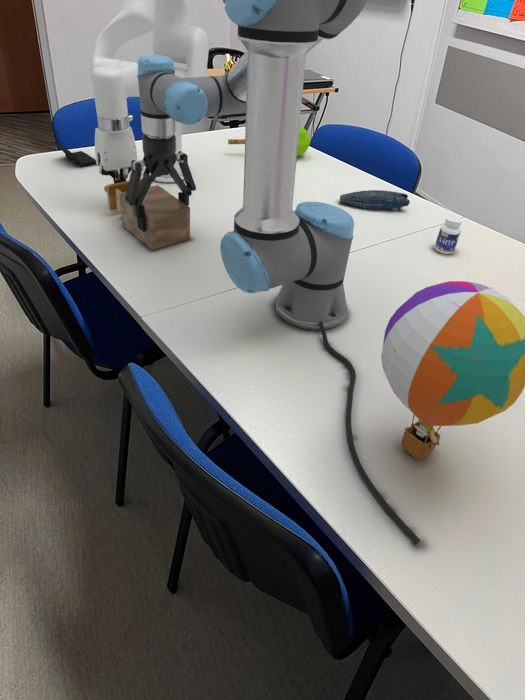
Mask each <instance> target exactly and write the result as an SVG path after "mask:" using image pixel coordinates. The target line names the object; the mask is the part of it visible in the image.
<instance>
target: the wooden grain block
mask: <svg viewBox="0 0 525 700" xmlns="http://www.w3.org/2000/svg"><path fill="white" fill-rule="evenodd" d="M125 196H126V192H123V193H119V197H120V209H121V213H120V220H121V226H122V227H123V228H125V229H126V230H127V231H128V232H129V233H131V234H132V236H134V237H135V238H136V239H138V240H139V242H141V243H142V244H144V245H145V247H147V248H149V249H150V250H151V251H154V250H158V249H162V248H166V247H169V246H172V245H175V244H178V243H182V242H185V241H188V240H190V239H191V236H190V235H191V207H190V205H189V206H187V205H186V204H184V203H183V202H181V201H180V200H178V198H177V197H175V196H174V195H173V194H171V193H170V192H169V191H167V190H166V189H164V188H162V187H161V186H160V185H159V184H156V185H151V186H150V188H149V190H148V192H147V194H146V196H145V198H144V200H143V202H142V205H144V206H145V221H146V231H145V232H143V231H142V230H140V229H139V228H138V224H137V218H136V217H135V216H134V211H133V206H131V205H129V204H128V203H127V202H125Z"/></svg>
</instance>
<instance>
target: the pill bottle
mask: <svg viewBox="0 0 525 700" xmlns="http://www.w3.org/2000/svg"><path fill="white" fill-rule="evenodd" d="M462 222H463V219H461V218H460V217H458V216H455V215H448V216H446V218H445V220H444V223H443V224H442V225H440V228H439V231H438V234H437V237H436V240H435V243H434V250H435V251H437V252H439V253H441V254H447V255H449V254H453V253H454V252H455V250H456V247H457V244H458V242H459V239H460V236H461V233H462V229H461V225H462Z"/></svg>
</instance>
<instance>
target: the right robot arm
mask: <svg viewBox="0 0 525 700" xmlns="http://www.w3.org/2000/svg"><path fill="white" fill-rule="evenodd" d="M367 2H368V0H222V3H223V4H225V5H224V11H225V13H226V15H227V17H228V19H230V21H231V22H232V23H234V24H235V25H236V26H237V39H238V41H240V43H241V44H242V45H243V47H244V48H245V50H246V51H245V53H244V54H242V55H241V57H239V58H238V60H237V61H236V62H235V63H234V64H233V65H232V67H231V68H230V69H228V70H227V72H226V73H224V74H222V75H209V76H206V77H191V78H180V77H178V76H176V75H174V73H175V70H174V67H175V62H173V60H172V59H171V58H169V57H167V56H162V55H155V54H144V55H141V56H140V57H139V58H138V59H137V63H138V75H137V78H138V84H139V96H138V97H139V109H140V124H141V125H140V126H141V132H142V135H141V142H142V152H143V159H141V160H137V161H135V160H132V161H131V168H132V170H131V171H130V175H129V179H128V181H129V183H128V187H127V192H126V196H125V202H127V203H128V204H129V205H131V206H133V211H134V216H135V217H136V218H137V224H138V228H139V229H140V230H142V231H143V232H145V231H146V221H145V206H144V205H142V202H143V200H144V198H145V196H146V194H147V192H148V190H149V188H150V187H151V186H152V184H153V183H154V182H156V181H155V179H156V177H160V176H162V175H170V176H171V177H172V179H173V180H174V181H175V182H174V183H175V185H176V186H177V187H178V189H179V192H178V193H177V197H178V198H177V199H178V200H180V201H181V202H183V203H184V204H186V205H187V206H189V207H190V197H191V196H192V195H193V192H194V191H196V190H197V186H196V183H195V180H194V178H193V177H194V176H193V175H192V172H191V169H190V166H189V161H188V160H189V158H188V157H189V156H188V154H186V153H185V152H183V151H182V152H181V151H179V152H178V154H175V152H176V136H175V135H174V134H175V133H176V124H175V121H178V122H180V123H181V124H183V125H185V126H193V125H197V124H198V123H200V122H201V121H202V120H203V119H204V118H211V117H219V116H228V115H229V116H230V115H244V114H245V129H244V139H245V144H244V164H243V170H244V171H243V197H242V198H243V199H242V207H241V208H239V209H238V210H237V211H236V212H235V214H233V215H234V217H233V231H227V232H226V233H225V234H224V235H223V237H222V238H221V240H220V245H219V246H220V256H221V260H222V263H223V266H224V269H225V271H226V273H227V275H228V277H229V278H230V280H231V281H232V283H233V284H234V285H235V286H236V287H237V288H238V289H239V290H241V291H242V292H243V293H246V294H256V293H260V292H268V291H269V290H270V289H274V288H277V287H280V286H281V287H280V290H279V291H278V294H277V296H276V300H275V311H276V313H277V315H278V316H279V317H280V318H281V319H282V320H283V321H284V322H286V323H287V324H289V325H291V326H293V327H296V328H300V329H304V330H310V331H320V332H321V333H320V334H321V337H322V341H323V344H324V346H325V348H326V349H327V351H328V352H330V354H331V355H333V356H334V357H336V358H337V359H339V360H340V361H342V363H344V365H346V366H347V368H348V369H349V372H350V382H349V386H348V390H347V401H346V403H347V404H346V410H345V428H346V429H345V431H346V439H347V445H348V449H349V452H350V455H351V459H352V461H353V463H354V465H355V468H356V469H357V472H358V473H359V475H360V477H361V479H362V480H363V482H364V484H365V485H366V487H367V488H368V489H369V491H370V492H371V494H372V495H373V496H374V498H375V499H376V500H377V501H378V503H379V504H380V505H381V507H382V508H383V509H384V510H385V512H386V513H387V514H388V515H389V516H390V517H391V519H392V520H393V521H394V522H395V524H397V526H398V527H399V528H400V529H401V530H402V531H403V532H404V533H405V534H406V535H407V536H408V537H409V539H411V541H412V542H413V543H414V544H415V545H418V544H419V543H420V542H421V539H420V538H419V536H417V534H415V533H414V531H413V530H412V529H411V528H410V527H409V525H407V524H406V523H405V522H404V520H402V518H401V517H400V516H399V515H398V514H397V513H396V512H395V511H394V510H393V508H392V507H391V506H390V505H389V503H388V502H387V501H386V500H385V499H384V497H383V496H382V494H381V493H380V492H379V490H378V489H377V488H376V486H375V485H374V483H373V482H372V481H371V479H370V478H369V476H368V474H367V473H366V471H365V469H364V467H363V465H362V462H361V461H360V458H359V456H358V454H357V451H356V447H355V444H354V438H353V430H352V407H353V399H354V397H353V396H354V388H355V384H356V380H357V374H356V370H355V368H354V366H353V364H352V362H351V361H350V360H349V359H347V358H346V357H345V356H344V355H342V354H341V353H339V352H338V351H337V350H336V349H334V348H333V347H332V346H331V344H330V342H329V340H328V336H327V332H326V330H329V329H333V328H336V327H337V326H339V325H340V324H342V323H343V322H344V320H345V318H346V315H347V310H348V305H347V297H346V292H345V286H344V280H345V275H346V271H347V267H348V262H349V257H350V253H351V247H352V244H353V243H352V242H353V240H354V231H355V229H354V228H355V220H354V218H353V216H352V215H351V214H350V213H349V212H348V211H346V210H345V209H343V208H340V207H339V206H336V205H333V204H329V203H325V202H320V201H303V202H300V203H298V204H297V205H296V208H295V210H293V203H294V193H295V182H296V181H295V180H296V169H297V159H298V156H297V149H298V138H299V126H301V114H302V104H303V103H302V102H303V92H304V81H305V69H306V68H305V67H306V58H307V55H308V53H309V52H311V51H312V50H313V49H314V48H315V47H316V46H317V45H319V44H320V43H321V42H322V41H323V40H325V41H326V40H327V41H329V40H332V39H335V38H336V37H338V36H339V35H340V34H341V33H342V32H343V31H345V30H346V29H347V28H348V27H349V26H350V25H351V24H353V22H354V21H355V20H356V19H357V18H358V16H359V15H360V14H361V13H362V11H363V9H364V8H365V6H366V4H367ZM176 161H177V162H178V163H179V166H180V169H181V172H182V174H183V177H184V180H182V179H181V177H180V176H179V174H178V172H177V171H176V169H175V168H174V165H175V163H176ZM144 167H145V169H144ZM142 172H143V173H142ZM149 173H151V175H149ZM140 179H142V180H141V182H140ZM139 183H140V184H139Z"/></svg>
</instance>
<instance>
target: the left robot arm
mask: <svg viewBox="0 0 525 700" xmlns="http://www.w3.org/2000/svg"><path fill="white" fill-rule="evenodd" d="M187 8H188V7H187V2H186V0H122V2H121V8H120V11H119V13H118V14H117V15H116V16H115V17H114V18H113V19H112V20H111V21H110V22H109V23H108V24H107V25H106V26H105V27H104V29H103V30H102V31H101V32H100V34H99V35H98V36H97V39H96V41H95V44H94V48H93V53H92V57H91V61H90V62H91V63H90V78H91V82H92V89H93V96H94V104H95V110H96V119H97V126H98V127H96V128H95V131H94V132H95V133H94V154H95V160H96V163H97V164H96V166H98V174H100V175H101V176H110V177H111V178H112V180H113V184H114V183H119V182H124V181H127V179H128V178H129V174H131V171H132V168H131V161H132V160H135V161H138V151H137V145H136V139H135V135H134V132H133V128H132V126H131V125H130V122H132V121H133V120H134V118H133V117H134V116H133V115H132V114H129V113H128V112H129V111H128V102H127V100H128V98H135V97H139V84H138V78H137V75H138V62H133V61H127V60H122V59H117V58H116V59H115V58H114V56H115V54H116V52H117V51H118V50H119V49H120V47H121V46H122V45H124V44H126V43H127V42H129V41H132V40H134V39H137V38H139V37H141V36H143V35H146V34H149V33H150V32H152V52H153V55H162V56H167V57H169V58H171V59H172V60H173V63H176V64H177V63H178V64H183V65H186V68H181V67H176V66H174V70H175V73H174V75H176V76H178V77H180V78H191V77H207V69H208V62H209V51H210V46H209V44H210V43H209V38H208V35H207V33H206V31H205V30H204V29H203V28H202V27H199V26H196V25H191V24H190V25H189V24H186V22H187V21H186V19H187ZM175 124H176V133H175V134H174V135H175V136H176V152H175V154H178V152H179V151H181V152H183V148H182V146H183V144H182V143H183V142H182V140H183V139H182V123H180V122H178V121H175ZM174 168H175V169H176V171H177V172H178V174H179V176H180V177H181V179H182V180H183V181H185V180H184V177H183V174H182V172H181V169H180V166H179V163H178V162H177V161H176V163H175V165H174ZM149 175H151V173H149ZM154 182H159V183H168V184H169V183H175V181H174V180H173V179H172V177H171V176H170V175H162V176H160V177H156V179H155V181H154Z"/></svg>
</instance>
